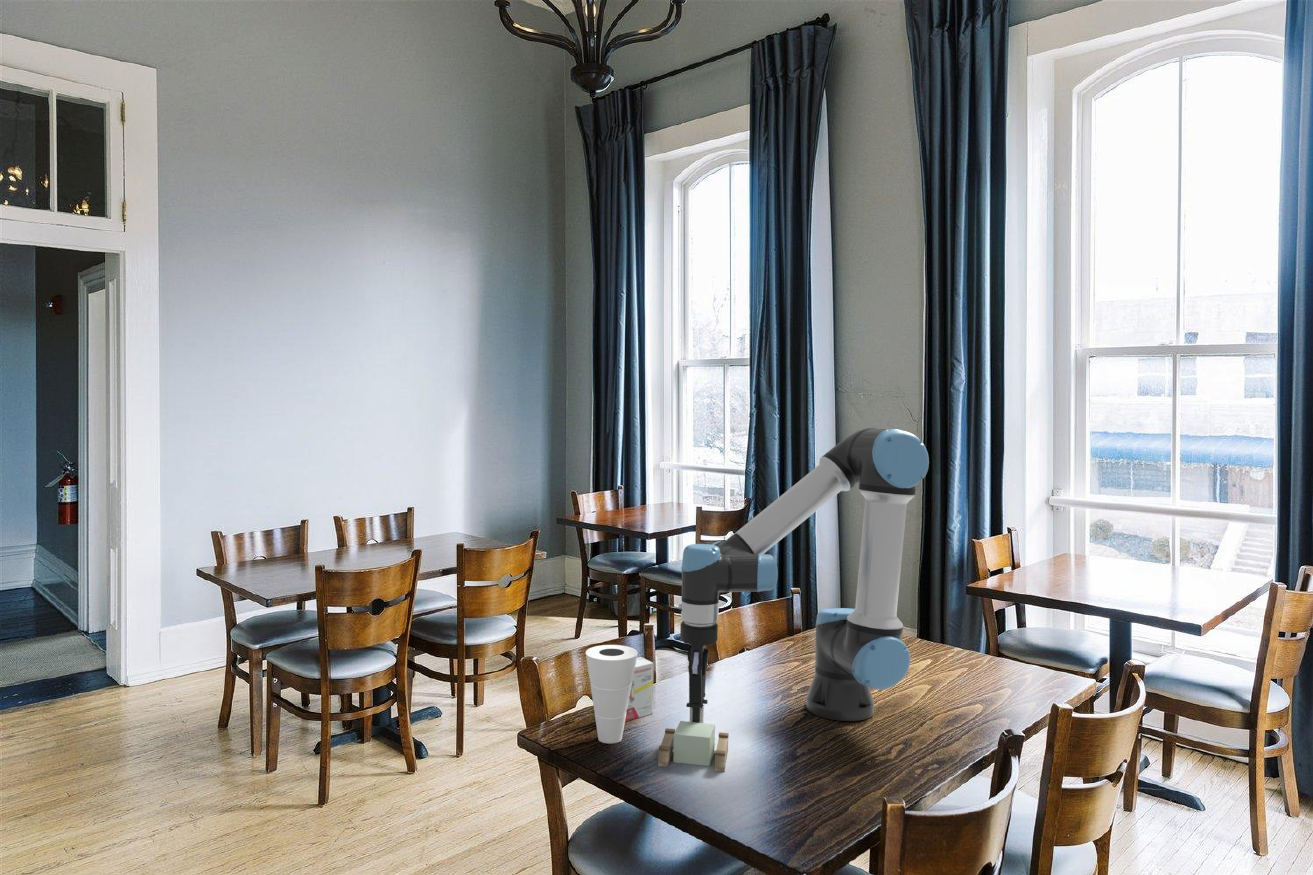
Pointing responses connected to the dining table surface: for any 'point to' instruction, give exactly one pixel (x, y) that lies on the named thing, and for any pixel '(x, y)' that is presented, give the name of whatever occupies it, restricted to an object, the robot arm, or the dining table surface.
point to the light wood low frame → (668, 747)
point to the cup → (610, 687)
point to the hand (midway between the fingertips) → (696, 737)
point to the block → (694, 743)
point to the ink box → (641, 690)
